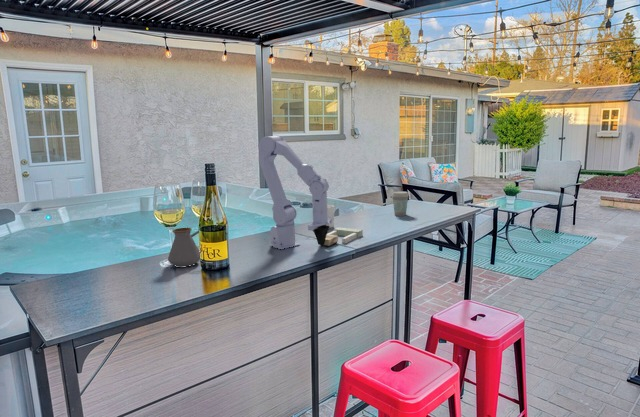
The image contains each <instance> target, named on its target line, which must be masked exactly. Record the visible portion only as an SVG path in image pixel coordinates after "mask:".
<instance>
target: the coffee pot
mask: <svg viewBox="0 0 640 417" xmlns="http://www.w3.org/2000/svg"><path fill="white" fill-rule="evenodd" d="M192 230H193V229H192V228H191V227H179V228H174V229H173V230H172V232H173V233H174V239H173V242H172V246H171V248H170V251H169V254H168V257H167V261H168V262H169V264H170V265H172V264H173V265H172V266H174V265H176V266H189V265H193V264H195V263H197V264H198V263H199V261H200V260H201V259H200V253H201V251H200V249H199V247H198V245H197V244H196V243H195V240H194V239H193V237H194V236H195V237H196V235H198V234H200V233H199V230H196V232H193V233H192V234H191V232H192ZM199 251H200V252H199Z"/></svg>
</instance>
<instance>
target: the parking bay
mask: <svg viewBox="0 0 640 417" xmlns="http://www.w3.org/2000/svg"><path fill="white" fill-rule="evenodd" d="M327 235H335V236H341V237H342V239H341V243H342V244H345V243H346V244H347V243H350V242H351V241H353V240H355V239H357V238H358V239H359V238H361V237H362V236H363V229H359V228H357V229H356V228H348V227H335V228H334V229H333V230H332V231H330V232H327Z"/></svg>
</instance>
